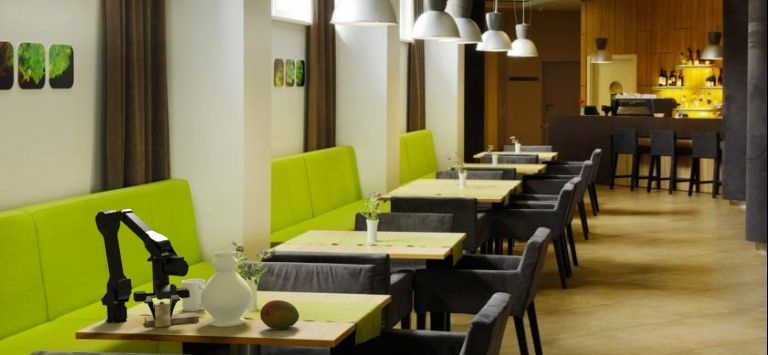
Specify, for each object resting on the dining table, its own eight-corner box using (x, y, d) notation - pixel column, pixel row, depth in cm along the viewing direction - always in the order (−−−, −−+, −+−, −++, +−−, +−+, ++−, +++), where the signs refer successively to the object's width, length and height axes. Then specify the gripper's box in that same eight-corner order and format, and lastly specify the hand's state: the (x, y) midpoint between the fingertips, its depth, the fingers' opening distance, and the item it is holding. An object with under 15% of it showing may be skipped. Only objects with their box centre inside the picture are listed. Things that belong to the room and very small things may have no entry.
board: (147, 326, 387) (146, 320, 387) (144, 322, 393) (144, 316, 393) (198, 321, 393) (198, 316, 392) (195, 317, 399) (195, 312, 399)
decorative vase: (232, 330, 378) (229, 257, 376) (191, 325, 387) (188, 254, 385) (262, 319, 394) (260, 249, 391) (222, 315, 402) (220, 246, 400)
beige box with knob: (156, 327, 384) (155, 303, 384) (152, 321, 394) (151, 298, 393) (170, 325, 386) (169, 302, 385) (166, 320, 395) (165, 296, 395)
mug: (198, 313, 407) (196, 284, 406) (177, 309, 415) (176, 281, 414) (216, 309, 413) (215, 281, 412) (196, 305, 421) (195, 277, 420)
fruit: (255, 329, 378) (254, 300, 377) (281, 323, 388) (280, 294, 387) (279, 334, 371) (278, 304, 370) (305, 327, 380) (304, 298, 379)
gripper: (135, 280, 374) (137, 326, 376) (191, 276, 380) (193, 321, 382) (132, 275, 385) (134, 319, 386) (186, 271, 391) (188, 315, 392)
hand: (162, 319), depth 386 cm, fingers closed on beige box with knob, 5 cm apart
